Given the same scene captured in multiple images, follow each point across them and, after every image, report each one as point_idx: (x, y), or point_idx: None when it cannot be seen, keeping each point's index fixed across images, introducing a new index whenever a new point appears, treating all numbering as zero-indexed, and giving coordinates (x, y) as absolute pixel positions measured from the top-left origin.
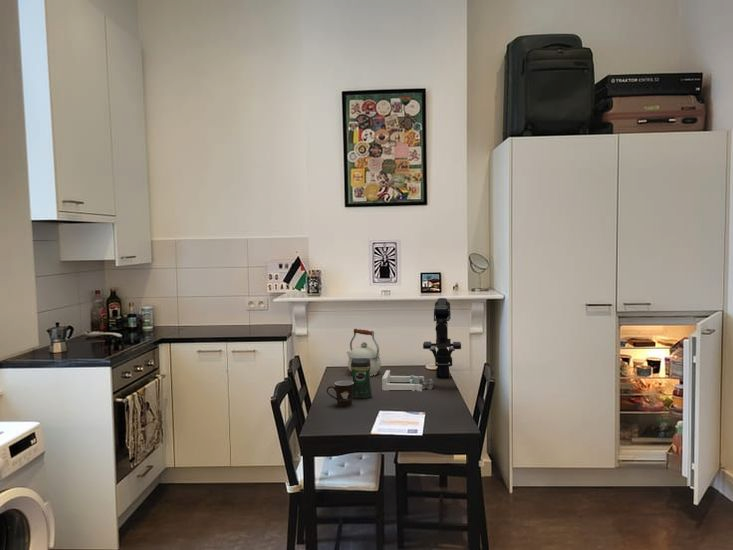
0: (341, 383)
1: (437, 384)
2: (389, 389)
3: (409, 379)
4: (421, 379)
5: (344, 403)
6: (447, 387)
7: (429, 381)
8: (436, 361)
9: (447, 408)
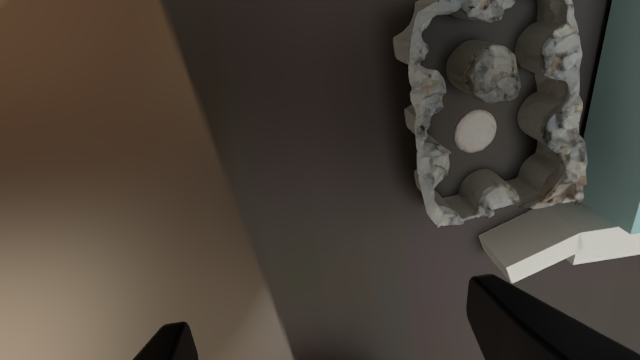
0: None
1: (354, 200)
2: None
3: None
4: (527, 203)
5: None
6: (239, 115)
7: (447, 149)
8: (496, 286)
9: None
